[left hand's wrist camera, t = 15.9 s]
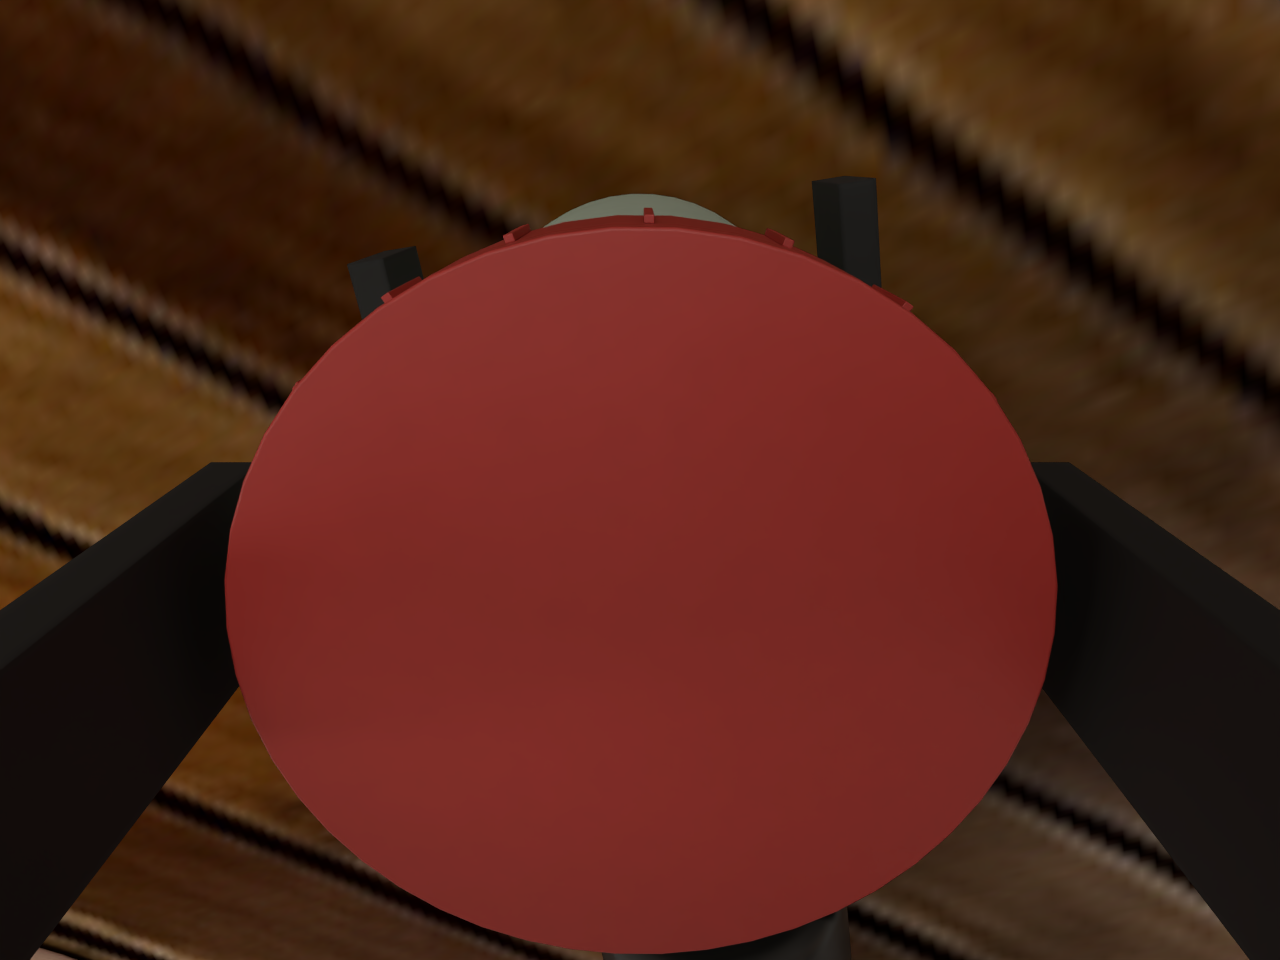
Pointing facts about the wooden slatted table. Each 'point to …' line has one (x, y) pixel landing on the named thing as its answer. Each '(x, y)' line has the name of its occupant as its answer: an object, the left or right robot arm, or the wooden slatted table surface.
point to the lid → (640, 587)
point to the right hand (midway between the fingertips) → (608, 217)
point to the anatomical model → (49, 955)
